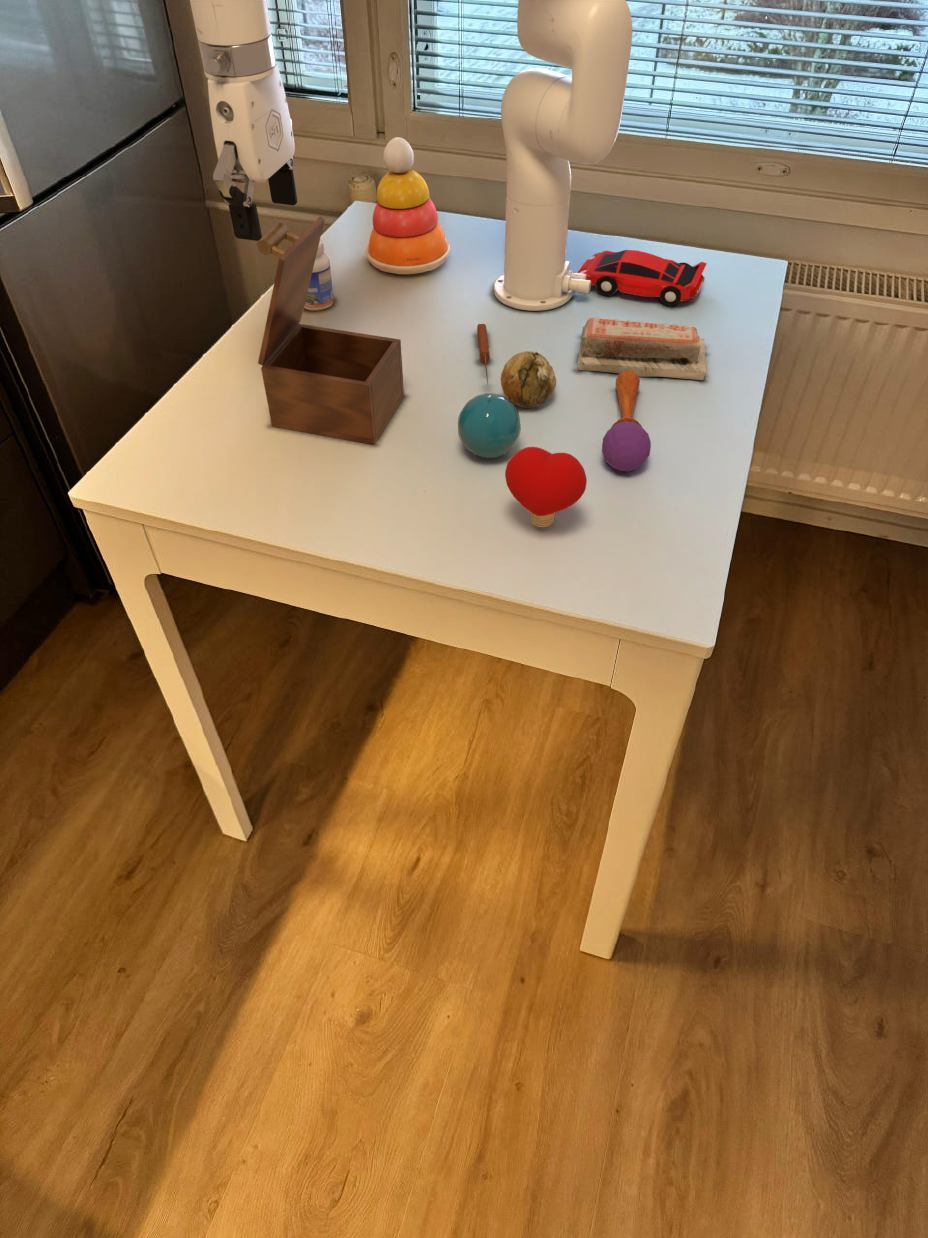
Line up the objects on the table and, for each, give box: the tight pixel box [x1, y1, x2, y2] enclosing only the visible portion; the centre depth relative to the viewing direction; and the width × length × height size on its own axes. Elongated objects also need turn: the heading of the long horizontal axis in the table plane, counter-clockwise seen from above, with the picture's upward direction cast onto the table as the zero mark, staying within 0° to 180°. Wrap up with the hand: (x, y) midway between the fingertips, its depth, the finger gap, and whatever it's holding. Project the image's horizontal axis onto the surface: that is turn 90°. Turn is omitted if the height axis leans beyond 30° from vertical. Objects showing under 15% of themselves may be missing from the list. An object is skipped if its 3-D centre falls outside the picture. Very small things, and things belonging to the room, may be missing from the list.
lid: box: [256, 216, 326, 367], centre depth 113 cm, size 15×12×5 cm
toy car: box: [577, 249, 708, 308], centre depth 146 cm, size 10×20×5 cm, turn 72°
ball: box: [457, 392, 522, 459], centre depth 114 cm, size 8×8×8 cm
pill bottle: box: [304, 238, 334, 312], centre depth 141 cm, size 5×5×10 cm
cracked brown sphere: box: [500, 350, 557, 409], centre depth 123 cm, size 8×8×8 cm
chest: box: [260, 323, 405, 446], centre depth 121 cm, size 15×12×9 cm
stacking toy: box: [365, 136, 451, 275], centre depth 148 cm, size 14×14×20 cm
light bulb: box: [504, 446, 588, 528], centre depth 104 cm, size 9×7×10 cm
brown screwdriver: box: [476, 323, 490, 386], centre depth 132 cm, size 16×1×2 cm, turn 2°
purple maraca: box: [601, 371, 652, 472], centre depth 118 cm, size 6×6×20 cm
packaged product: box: [577, 317, 707, 381], centre depth 131 cm, size 18×5×10 cm
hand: (267, 220), depth 107 cm, fingers open, 9 cm apart
